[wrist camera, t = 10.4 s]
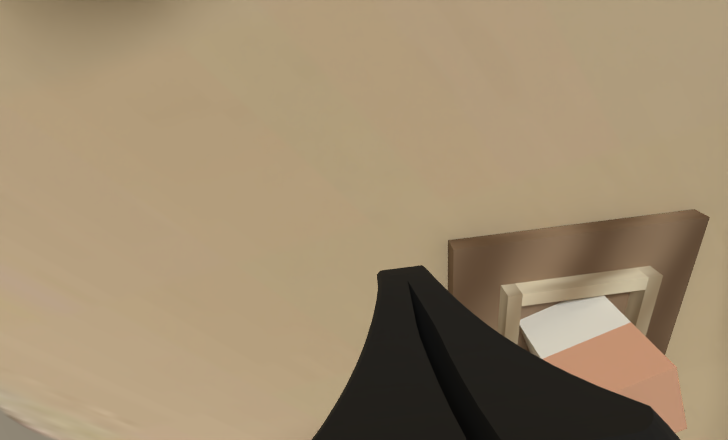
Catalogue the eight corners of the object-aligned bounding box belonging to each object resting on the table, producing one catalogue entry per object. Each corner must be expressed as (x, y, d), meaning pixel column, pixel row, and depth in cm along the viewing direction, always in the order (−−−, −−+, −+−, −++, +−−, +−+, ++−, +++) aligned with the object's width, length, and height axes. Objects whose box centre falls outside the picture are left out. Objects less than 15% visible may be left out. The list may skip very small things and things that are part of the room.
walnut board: (694, 209, 23) (725, 225, 21) (640, 386, 29) (661, 410, 28) (448, 240, 22) (459, 259, 21) (447, 414, 29) (456, 440, 27)
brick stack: (595, 287, 24) (676, 367, 18) (610, 342, 26) (687, 428, 20) (517, 320, 24) (572, 408, 19) (537, 372, 26) (593, 463, 21)
